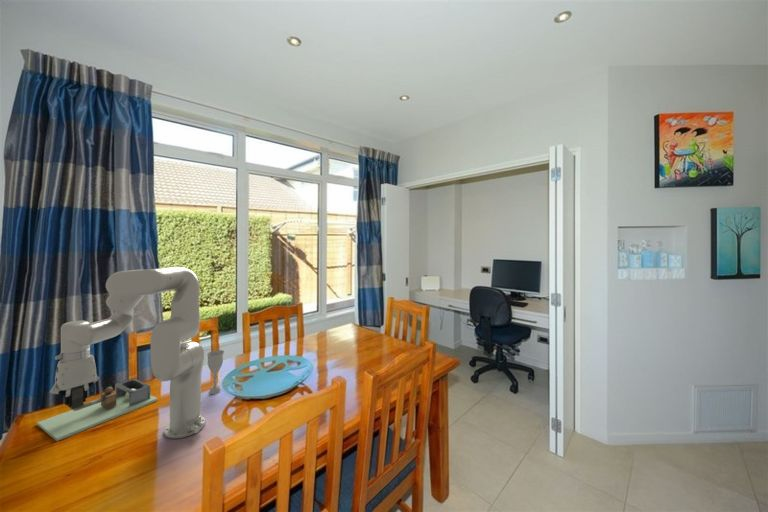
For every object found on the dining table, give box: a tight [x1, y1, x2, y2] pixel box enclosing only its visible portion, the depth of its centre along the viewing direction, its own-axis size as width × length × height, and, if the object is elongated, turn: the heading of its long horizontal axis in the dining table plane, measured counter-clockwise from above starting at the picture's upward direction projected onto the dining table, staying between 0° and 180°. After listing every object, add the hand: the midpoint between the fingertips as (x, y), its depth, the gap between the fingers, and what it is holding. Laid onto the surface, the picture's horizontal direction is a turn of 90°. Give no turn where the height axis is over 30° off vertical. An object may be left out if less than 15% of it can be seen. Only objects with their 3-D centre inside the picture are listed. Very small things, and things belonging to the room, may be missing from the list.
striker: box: [68, 386, 116, 411], centre depth 114 cm, size 5×12×12 cm, turn 153°
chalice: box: [206, 349, 225, 395], centre depth 135 cm, size 7×7×18 cm
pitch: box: [36, 394, 159, 442], centre depth 117 cm, size 18×30×1 cm, turn 153°
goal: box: [114, 378, 151, 406], centre depth 126 cm, size 13×7×7 cm, turn 63°
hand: (76, 402), depth 110 cm, fingers closed on striker, 3 cm apart
